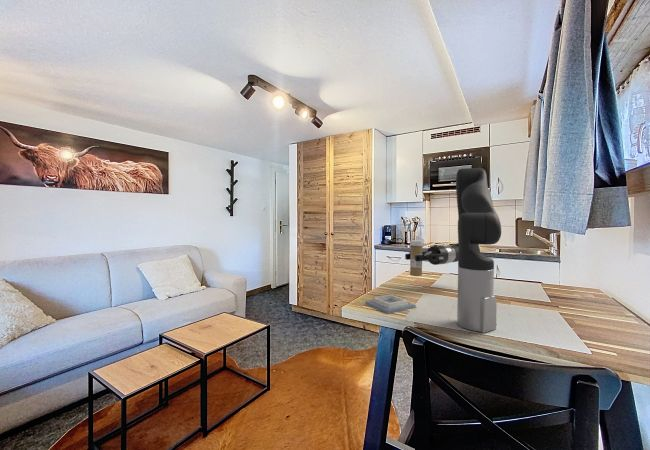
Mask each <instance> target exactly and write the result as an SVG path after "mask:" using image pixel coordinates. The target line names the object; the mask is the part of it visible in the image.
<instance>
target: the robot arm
mask: <svg viewBox="0 0 650 450" xmlns="http://www.w3.org/2000/svg"><path fill="white" fill-rule="evenodd" d="M487 177H488V176H487V173H486V170H485V169H484V168H481V167H471V168H470V167H469V168H459V169H458V170H457V172H456V177H455V191H456V205H457V206H456V207H457V215H458V219H457V239H458V241H457V243H455V244H452V245H450V244H449V245H445V244H444V245H432V246H429V247H428V248H427V249H426V250H422V255H416V256H415V261H422V262H425V263H426V262H428V263H430V264H431V265H433V266H437V265H445V264H446V265H447V264H449V263H456V262H457V304H456V305H457V306H456V307H457V308H456V309H457V312H456V313H457V314H456V316H457V317H456V322H457V325H458V326H459V327H462V328H464V329H466V330H468V331H474V332H479V333H482V334H484V333H488V332H491V331H494V330H496V329H497V309H498V308H497V304H498V303H497V302H498V301H497V300H498V297H497V295H494V284H495V281H494V279H495V261H494V259H493V258H491V257H489V256H487V255H483V254H481V249H480V245H481V246H482V245H484V246H489V245H495V244H497V243H498V242H499V241H500V240H501V236H502V225H501V220H500V217H499V215H498V213H497V211H496V209H495V208H494V204H493V199H492V195H491V192H490V190H489V185H488V178H487ZM410 254H411V251H410V252H409V253H405V255H404V257H405V258H404V259H405V260H408V261H409V260H410Z"/></svg>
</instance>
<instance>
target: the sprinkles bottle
mask: <svg viewBox="0 0 650 450" xmlns="http://www.w3.org/2000/svg"><path fill="white" fill-rule="evenodd" d="M409 245H410V252H411V254H410V261H409V263H410V264H409V270H410V273H409V275H410V276H412V277H422V276H423V272H422V270H423V261H415V256H416V255H422V251H423V245H424V244H423V240H421V239H420V240H419V239H412V240H410V241H409Z"/></svg>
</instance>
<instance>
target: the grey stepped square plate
mask: <svg viewBox="0 0 650 450" xmlns="http://www.w3.org/2000/svg"><path fill="white" fill-rule="evenodd" d="M365 305H367V306H368V307H371V308H374V309H376V310H378V311H380V312H381V313H382V312H383V313H384V314H386V315H389V314H393V313H399V312H403V311H407V310H412V309H416V308H417V306H416V305H417V304H414V303H412V302H409V301H408V300H407V299H405V298H402V297H399V296H396V295H393V294H386V295H380V296H374V297H373V298H372V300H371V299H370V300H366V301H365Z"/></svg>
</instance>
